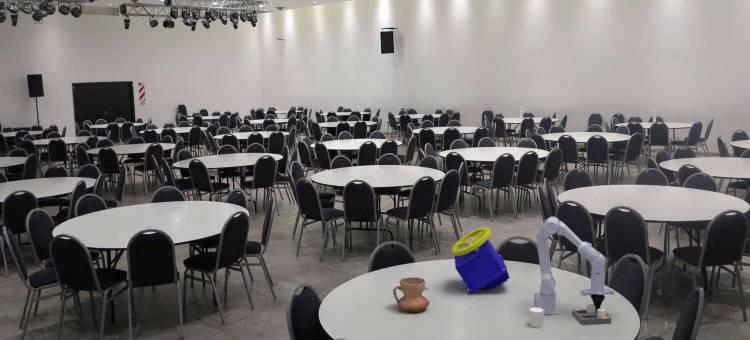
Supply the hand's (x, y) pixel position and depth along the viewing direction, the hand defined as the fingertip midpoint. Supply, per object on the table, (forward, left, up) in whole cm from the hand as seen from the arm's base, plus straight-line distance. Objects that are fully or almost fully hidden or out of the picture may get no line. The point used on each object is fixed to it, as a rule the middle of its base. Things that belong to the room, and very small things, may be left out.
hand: (597, 310), depth 277 cm
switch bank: (-4, -3, -3) cm, 6 cm away
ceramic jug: (-82, +20, -3) cm, 84 cm away
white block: (-3, 0, -2) cm, 3 cm away
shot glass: (-30, -6, -3) cm, 31 cm away
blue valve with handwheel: (-44, +43, -3) cm, 61 cm away
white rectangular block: (0, -6, -2) cm, 6 cm away
